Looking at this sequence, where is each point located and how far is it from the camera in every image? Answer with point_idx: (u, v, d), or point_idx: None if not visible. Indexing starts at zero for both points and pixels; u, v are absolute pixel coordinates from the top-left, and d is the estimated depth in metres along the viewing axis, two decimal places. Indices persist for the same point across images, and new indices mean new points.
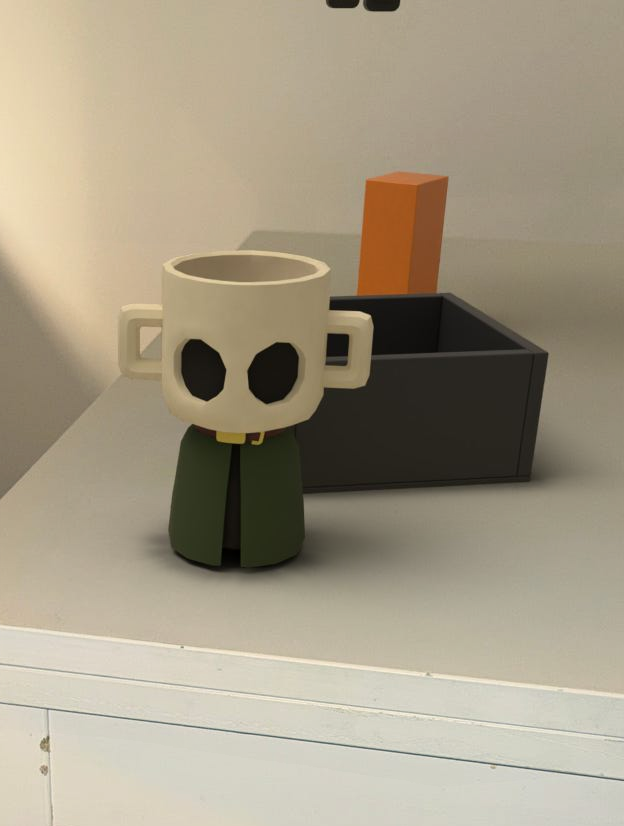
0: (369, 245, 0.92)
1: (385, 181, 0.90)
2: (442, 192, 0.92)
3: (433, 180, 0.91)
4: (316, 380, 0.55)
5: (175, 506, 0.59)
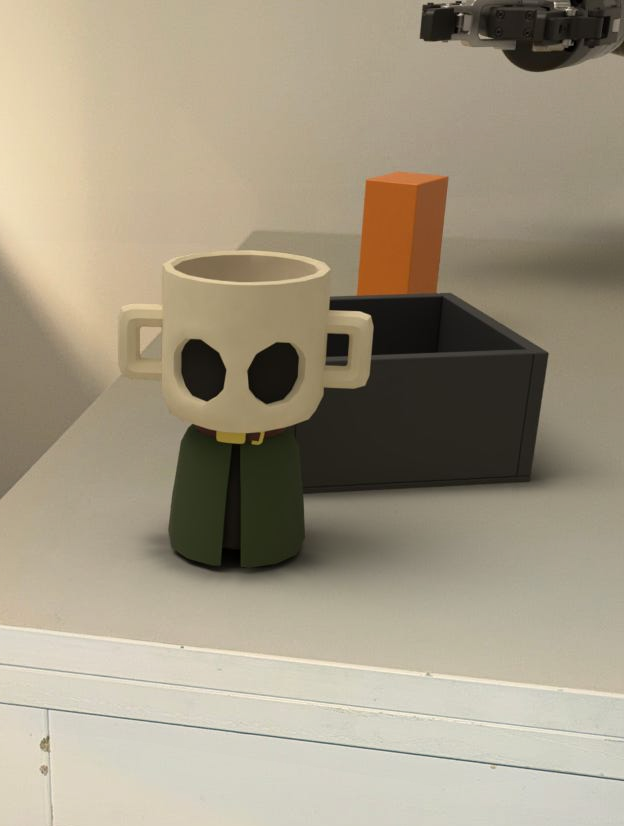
0: (369, 245, 0.92)
1: (385, 181, 0.90)
2: (442, 192, 0.92)
3: (433, 180, 0.91)
4: (316, 380, 0.55)
5: (175, 506, 0.59)
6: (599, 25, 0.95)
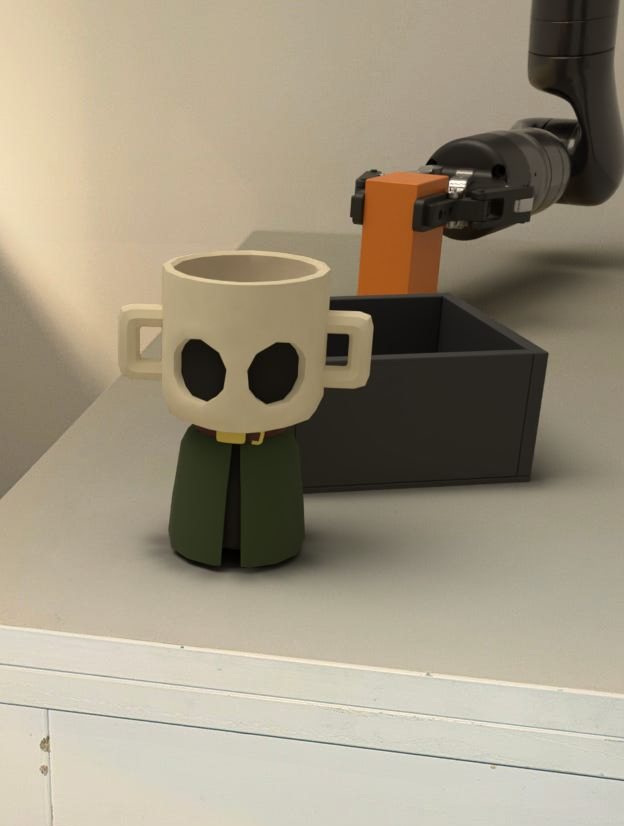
0: (369, 245, 0.92)
1: (385, 181, 0.90)
2: (442, 192, 0.92)
3: (433, 180, 0.91)
4: (316, 380, 0.55)
5: (175, 506, 0.59)
6: (483, 208, 0.91)
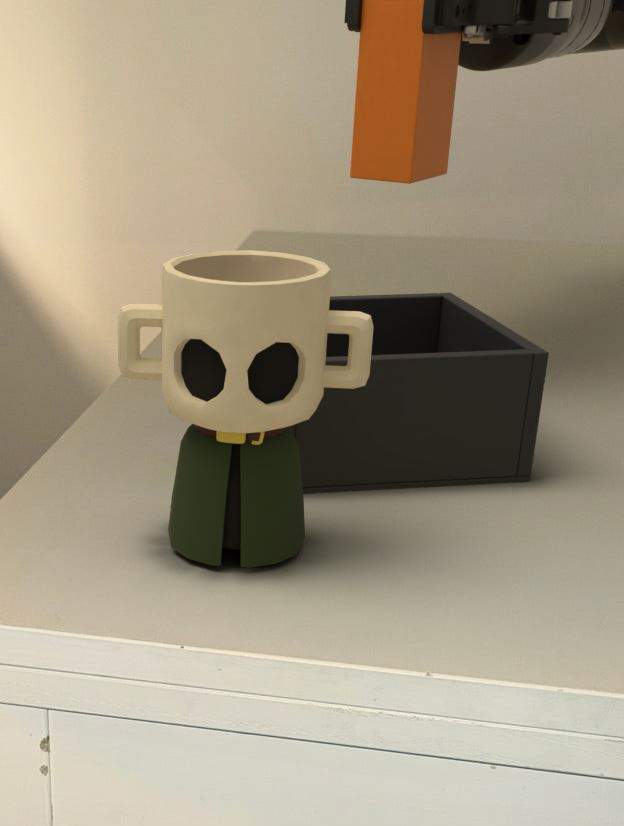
0: (369, 57, 0.74)
1: None
2: None
3: None
4: (316, 380, 0.55)
5: (175, 506, 0.59)
6: (511, 7, 0.73)
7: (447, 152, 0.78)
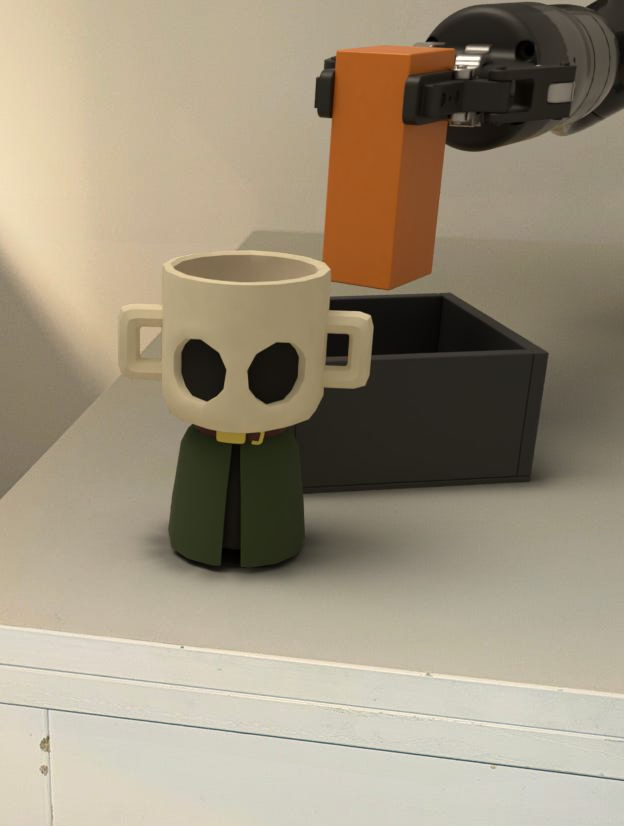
0: (342, 147, 0.65)
1: (364, 52, 0.62)
2: None
3: (433, 51, 0.63)
4: (316, 380, 0.55)
5: (175, 506, 0.59)
6: (505, 93, 0.63)
7: (432, 250, 0.69)
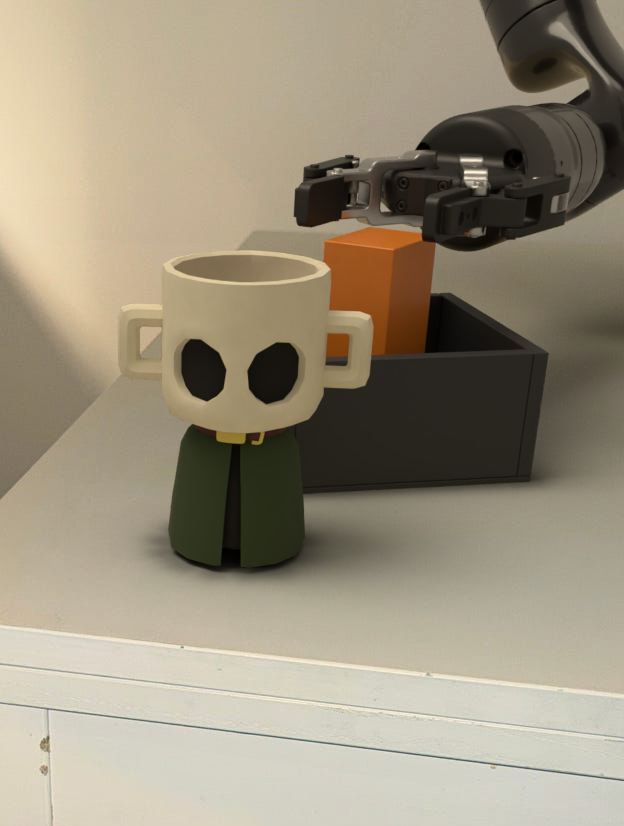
0: None
1: (350, 243, 0.66)
2: (428, 256, 0.69)
3: (415, 242, 0.67)
4: (316, 380, 0.55)
5: (175, 506, 0.59)
6: (520, 209, 0.66)
7: None
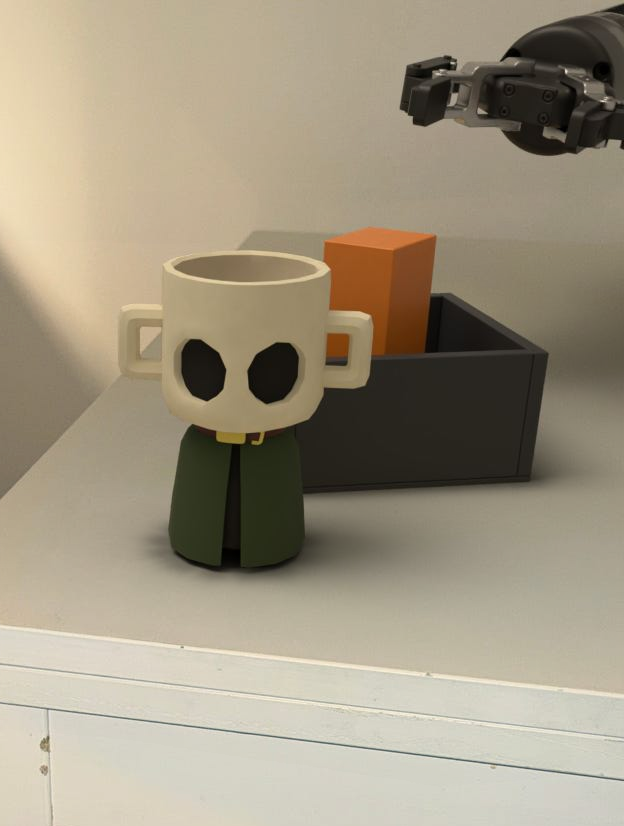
0: None
1: (350, 243, 0.66)
2: (428, 256, 0.69)
3: (415, 242, 0.67)
4: (316, 380, 0.55)
5: (175, 506, 0.59)
6: None
7: None
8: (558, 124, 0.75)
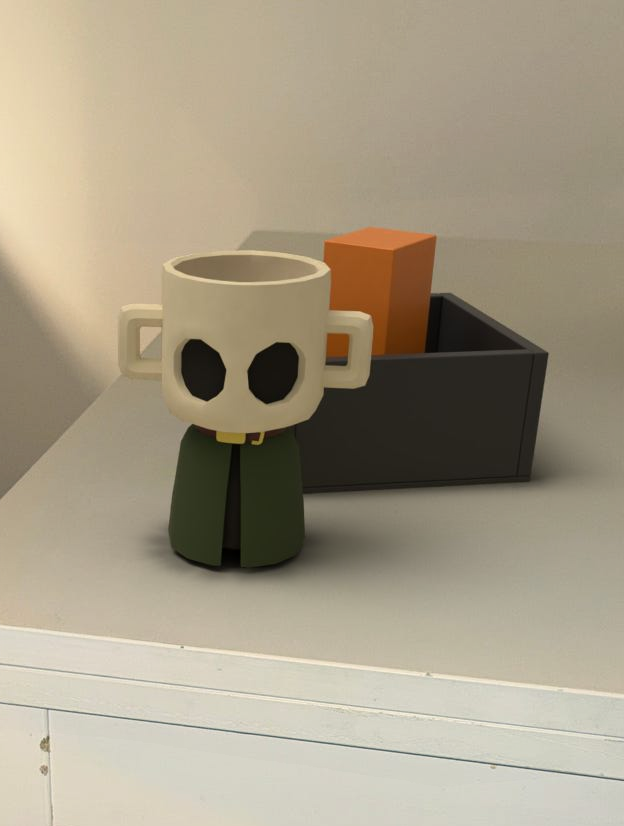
0: None
1: (350, 243, 0.66)
2: (428, 256, 0.69)
3: (415, 242, 0.67)
4: (316, 380, 0.55)
5: (175, 506, 0.59)
6: None
7: None
8: None
